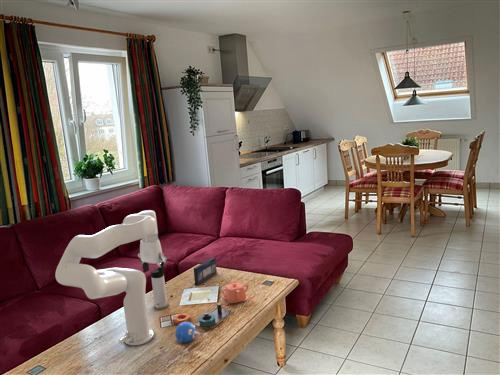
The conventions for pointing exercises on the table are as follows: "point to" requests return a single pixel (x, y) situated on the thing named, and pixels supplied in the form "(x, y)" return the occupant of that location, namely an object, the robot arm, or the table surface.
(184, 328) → the toy whale
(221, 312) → the stand
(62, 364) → the table surface
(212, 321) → the teal faceted ring
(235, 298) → the teapot
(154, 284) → the travel mug
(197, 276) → the vhs cassette tape
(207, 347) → the table surface
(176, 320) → the orange octagonal ring
